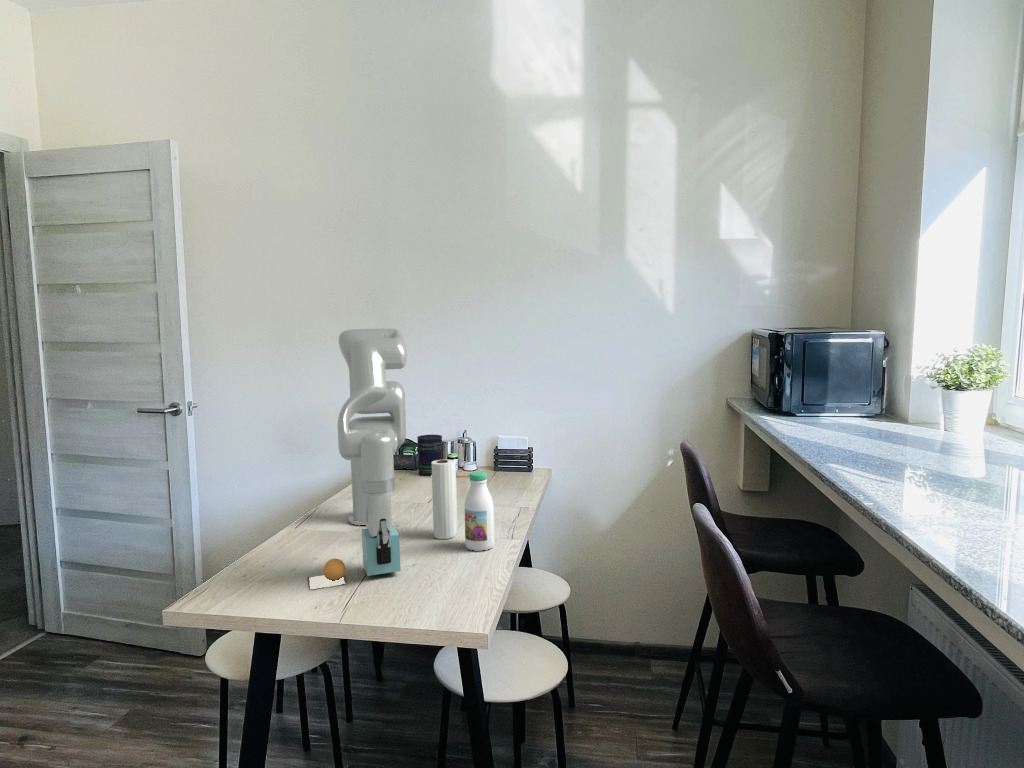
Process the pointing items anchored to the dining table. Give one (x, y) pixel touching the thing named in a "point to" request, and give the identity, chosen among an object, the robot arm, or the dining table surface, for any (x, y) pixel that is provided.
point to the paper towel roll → (444, 498)
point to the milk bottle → (479, 514)
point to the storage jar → (428, 452)
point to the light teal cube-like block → (371, 553)
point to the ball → (334, 569)
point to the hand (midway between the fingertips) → (381, 557)
